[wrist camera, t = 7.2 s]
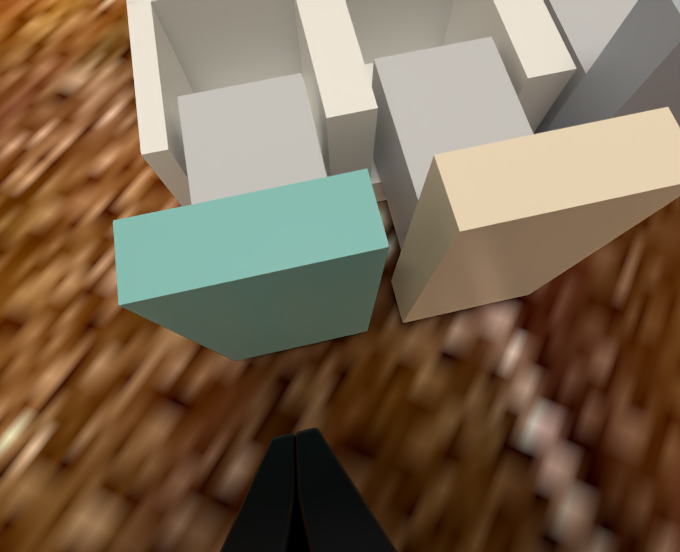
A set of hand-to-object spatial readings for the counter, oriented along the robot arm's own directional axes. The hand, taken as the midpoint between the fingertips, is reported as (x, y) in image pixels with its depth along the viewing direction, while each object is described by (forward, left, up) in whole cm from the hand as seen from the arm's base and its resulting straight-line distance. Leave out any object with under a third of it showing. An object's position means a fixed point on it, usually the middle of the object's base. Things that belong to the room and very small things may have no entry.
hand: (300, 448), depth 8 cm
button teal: (+4, -4, -6) cm, 8 cm away
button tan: (0, -8, -6) cm, 10 cm away
